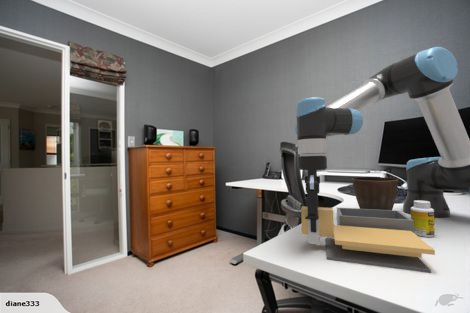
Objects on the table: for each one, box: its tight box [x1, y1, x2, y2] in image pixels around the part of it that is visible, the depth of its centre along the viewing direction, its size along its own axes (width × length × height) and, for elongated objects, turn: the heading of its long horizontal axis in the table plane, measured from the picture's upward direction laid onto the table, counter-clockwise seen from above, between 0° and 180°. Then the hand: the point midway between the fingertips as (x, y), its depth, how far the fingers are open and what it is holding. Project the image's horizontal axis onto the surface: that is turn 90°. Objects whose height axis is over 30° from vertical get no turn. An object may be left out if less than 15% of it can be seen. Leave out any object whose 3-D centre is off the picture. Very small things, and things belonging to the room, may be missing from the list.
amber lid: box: [300, 205, 436, 258], centre depth 57 cm, size 27×13×8 cm, turn 69°
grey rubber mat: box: [325, 237, 432, 274], centre depth 56 cm, size 20×14×1 cm
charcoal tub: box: [336, 207, 414, 233], centre depth 69 cm, size 18×12×7 cm, turn 69°
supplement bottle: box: [410, 200, 436, 238], centre depth 69 cm, size 6×6×10 cm
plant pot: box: [351, 176, 399, 210], centre depth 85 cm, size 15×15×16 cm
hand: (314, 240), depth 61 cm, fingers closed on amber lid, 3 cm apart
